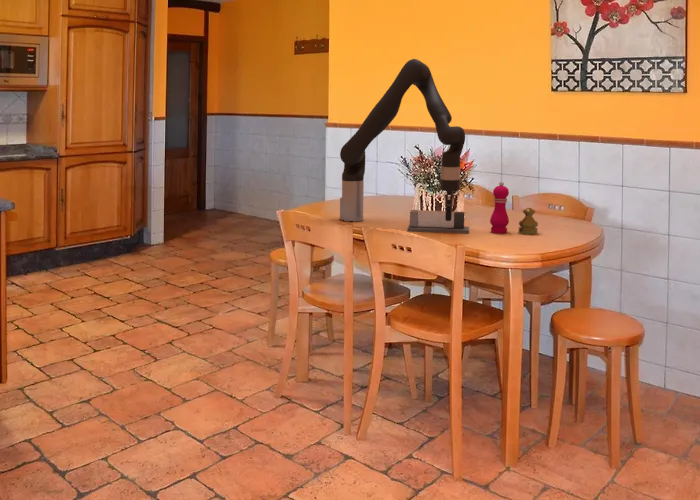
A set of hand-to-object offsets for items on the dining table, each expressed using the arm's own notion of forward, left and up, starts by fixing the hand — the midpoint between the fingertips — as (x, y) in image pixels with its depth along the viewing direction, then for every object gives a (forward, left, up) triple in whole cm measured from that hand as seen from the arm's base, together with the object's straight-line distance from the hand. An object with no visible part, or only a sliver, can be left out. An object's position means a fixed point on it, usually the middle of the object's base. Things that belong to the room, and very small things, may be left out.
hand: (448, 218), depth 277 cm
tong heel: (-12, -6, -3) cm, 14 cm away
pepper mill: (+18, +9, -5) cm, 20 cm away
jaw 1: (-3, 0, -3) cm, 4 cm away
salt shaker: (+28, +14, -5) cm, 31 cm away
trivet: (-3, -2, -5) cm, 6 cm away
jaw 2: (-2, -2, -3) cm, 4 cm away
